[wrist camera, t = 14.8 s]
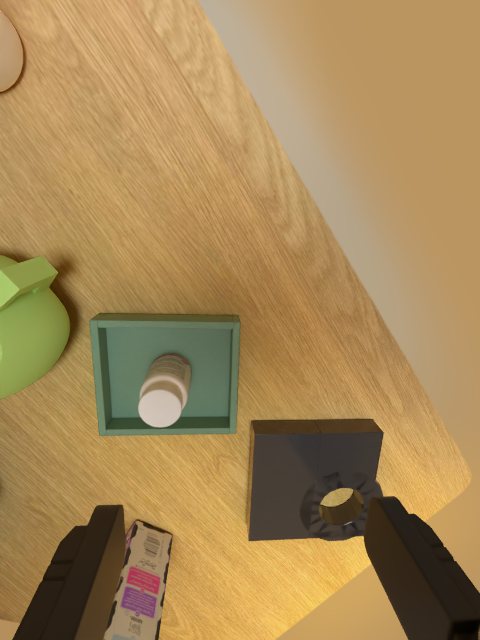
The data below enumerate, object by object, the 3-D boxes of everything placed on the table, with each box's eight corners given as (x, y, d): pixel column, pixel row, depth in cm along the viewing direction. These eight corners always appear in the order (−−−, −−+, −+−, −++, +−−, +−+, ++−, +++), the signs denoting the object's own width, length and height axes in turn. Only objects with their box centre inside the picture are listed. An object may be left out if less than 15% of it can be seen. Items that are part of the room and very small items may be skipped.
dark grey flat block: (383, 418, 43) (396, 432, 40) (366, 520, 47) (376, 539, 44) (251, 420, 41) (254, 434, 39) (246, 525, 46) (248, 545, 43)
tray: (238, 315, 38) (240, 322, 35) (234, 419, 41) (236, 433, 38) (99, 313, 36) (89, 320, 33) (107, 420, 40) (98, 436, 37)
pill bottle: (143, 361, 38) (124, 396, 30) (181, 346, 38) (172, 377, 29) (161, 395, 39) (147, 438, 31) (197, 381, 39) (194, 420, 31)
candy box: (135, 517, 44) (92, 678, 28) (174, 533, 45) (153, 696, 29) (89, 587, 46) (25, 771, 30) (126, 600, 48) (84, 784, 32)
